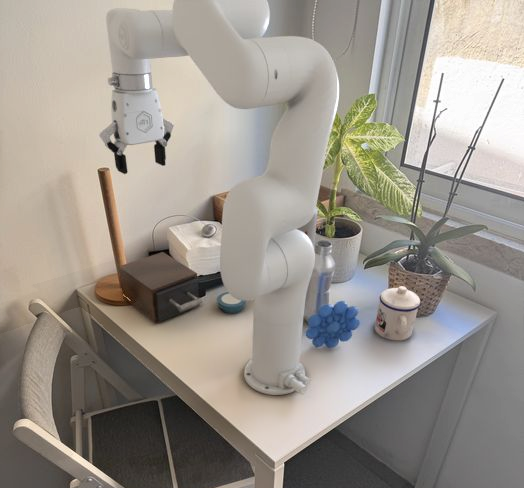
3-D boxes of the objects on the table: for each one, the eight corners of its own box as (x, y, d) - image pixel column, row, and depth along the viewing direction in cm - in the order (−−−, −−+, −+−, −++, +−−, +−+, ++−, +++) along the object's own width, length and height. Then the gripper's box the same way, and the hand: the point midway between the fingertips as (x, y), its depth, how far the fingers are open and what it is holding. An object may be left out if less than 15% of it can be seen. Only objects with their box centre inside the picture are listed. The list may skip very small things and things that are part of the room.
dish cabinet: (198, 305, 127) (197, 273, 121) (155, 323, 120) (151, 289, 114) (165, 283, 135) (162, 251, 130) (123, 298, 128) (118, 266, 123)
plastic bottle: (328, 313, 126) (338, 238, 114) (328, 329, 120) (338, 251, 108) (302, 311, 126) (309, 236, 114) (301, 326, 121) (308, 249, 109)
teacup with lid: (370, 319, 124) (379, 277, 117) (408, 321, 124) (418, 278, 117) (378, 348, 115) (387, 304, 108) (418, 350, 115) (430, 306, 108)
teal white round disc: (252, 309, 126) (252, 299, 125) (229, 319, 122) (229, 309, 121) (233, 297, 130) (233, 288, 129) (211, 306, 126) (210, 297, 125)
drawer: (212, 314, 122) (211, 287, 118) (172, 331, 116) (170, 303, 111) (168, 284, 133) (166, 258, 129) (129, 298, 127) (126, 272, 122)
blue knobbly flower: (351, 336, 118) (359, 291, 111) (357, 353, 113) (365, 307, 106) (301, 336, 118) (306, 291, 110) (305, 354, 112) (310, 307, 105)
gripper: (103, 89, 96) (115, 180, 106) (179, 81, 106) (184, 165, 116) (84, 83, 100) (98, 171, 111) (159, 75, 110) (165, 157, 120)
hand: (142, 168), depth 113 cm, fingers open, 9 cm apart
